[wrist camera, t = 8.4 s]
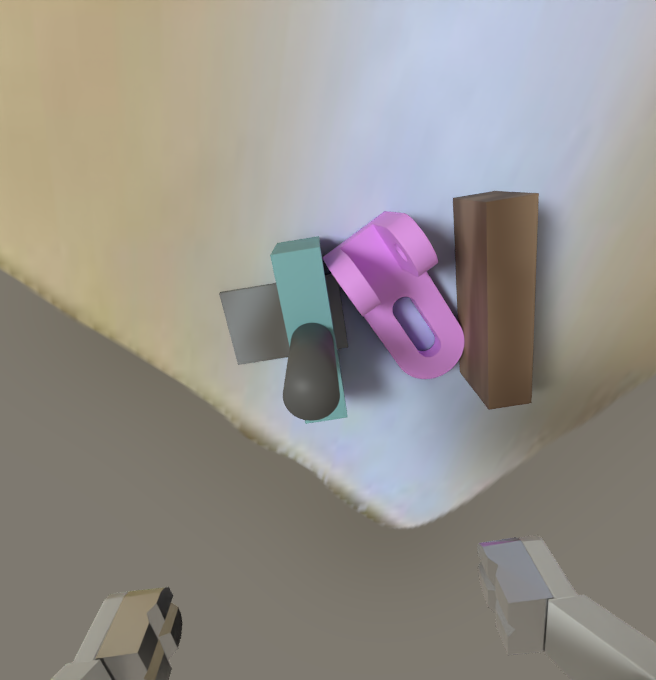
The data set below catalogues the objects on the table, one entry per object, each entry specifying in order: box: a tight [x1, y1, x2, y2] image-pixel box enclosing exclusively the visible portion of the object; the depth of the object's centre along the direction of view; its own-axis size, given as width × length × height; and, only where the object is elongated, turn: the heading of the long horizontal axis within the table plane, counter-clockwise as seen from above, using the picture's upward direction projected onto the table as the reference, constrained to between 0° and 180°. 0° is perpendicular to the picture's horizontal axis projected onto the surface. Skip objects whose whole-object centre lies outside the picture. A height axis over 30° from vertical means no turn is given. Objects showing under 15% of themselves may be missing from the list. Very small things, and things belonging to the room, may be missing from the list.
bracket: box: [322, 211, 464, 379], centre depth 28 cm, size 13×6×7 cm, turn 35°
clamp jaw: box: [270, 236, 347, 424], centre depth 25 cm, size 3×12×12 cm, turn 9°
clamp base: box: [219, 191, 539, 409], centre depth 29 cm, size 21×14×6 cm, turn 99°
